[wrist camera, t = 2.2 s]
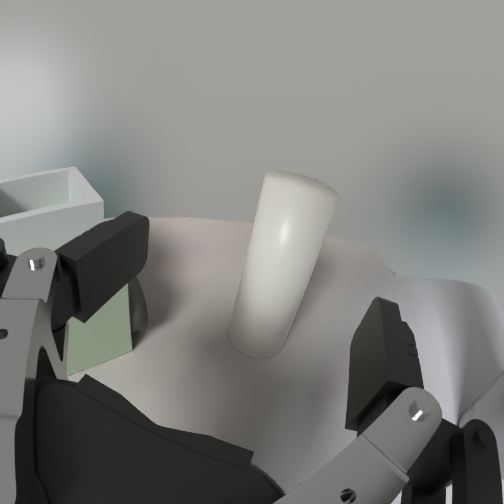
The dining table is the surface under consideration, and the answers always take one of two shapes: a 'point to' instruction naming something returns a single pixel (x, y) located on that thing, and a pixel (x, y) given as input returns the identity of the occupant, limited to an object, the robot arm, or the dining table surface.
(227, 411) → the dining table surface
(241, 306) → the spout tube
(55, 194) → the pale green toy car
